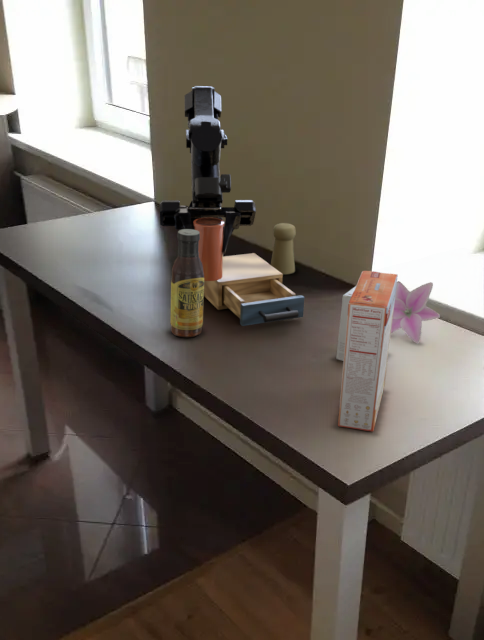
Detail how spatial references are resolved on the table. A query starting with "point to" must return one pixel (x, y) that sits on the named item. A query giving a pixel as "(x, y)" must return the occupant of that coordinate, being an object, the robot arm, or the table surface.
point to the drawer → (262, 301)
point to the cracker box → (366, 349)
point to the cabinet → (239, 275)
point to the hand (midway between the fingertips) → (208, 252)
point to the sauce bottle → (187, 286)
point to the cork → (283, 248)
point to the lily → (412, 310)
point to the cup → (210, 246)
